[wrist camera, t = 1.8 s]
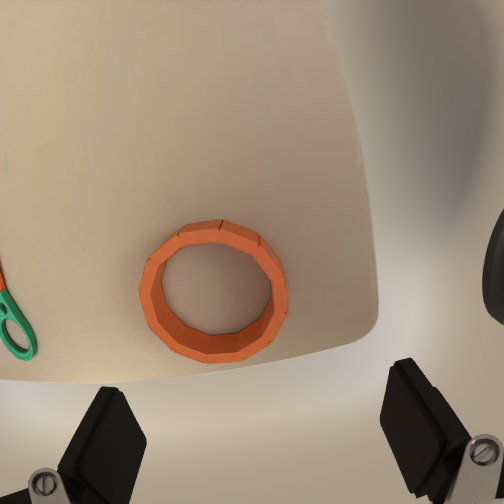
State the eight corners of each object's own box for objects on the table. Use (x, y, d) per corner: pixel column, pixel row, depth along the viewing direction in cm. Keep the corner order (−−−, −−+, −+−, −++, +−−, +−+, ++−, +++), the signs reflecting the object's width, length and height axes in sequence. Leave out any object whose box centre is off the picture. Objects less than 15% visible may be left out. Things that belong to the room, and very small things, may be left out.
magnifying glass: (44, 358, 27) (38, 366, 25) (14, 353, 27) (7, 360, 26) (5, 232, 23) (-5, 236, 21) (-23, 238, 23) (-32, 241, 21)
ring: (275, 212, 23) (279, 219, 20) (287, 336, 26) (291, 356, 23) (139, 231, 23) (125, 240, 20) (168, 347, 26) (160, 366, 23)
